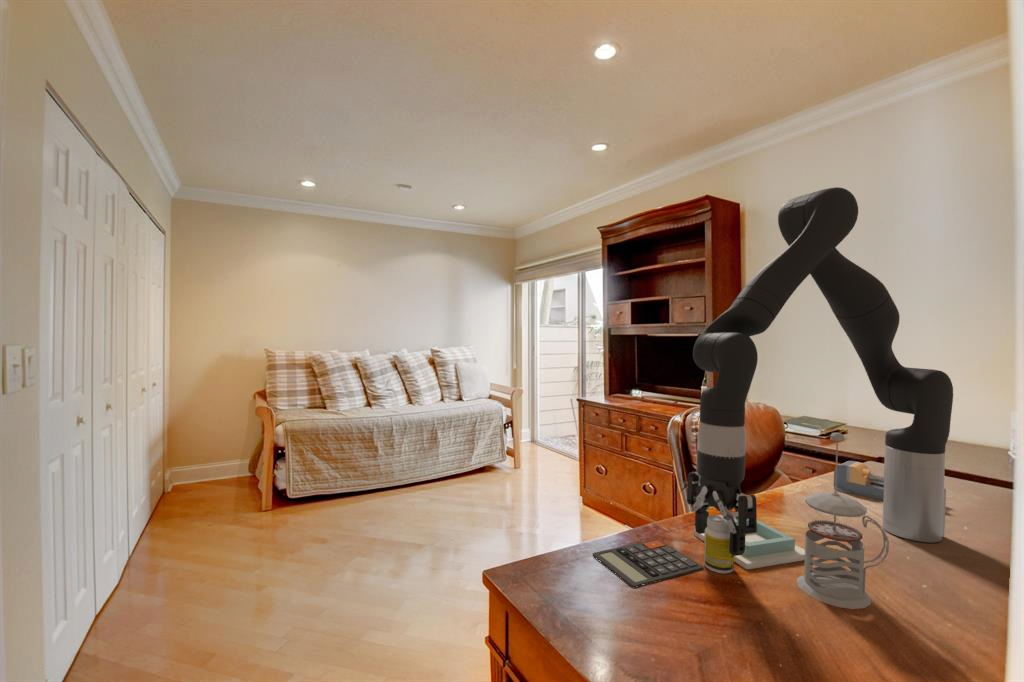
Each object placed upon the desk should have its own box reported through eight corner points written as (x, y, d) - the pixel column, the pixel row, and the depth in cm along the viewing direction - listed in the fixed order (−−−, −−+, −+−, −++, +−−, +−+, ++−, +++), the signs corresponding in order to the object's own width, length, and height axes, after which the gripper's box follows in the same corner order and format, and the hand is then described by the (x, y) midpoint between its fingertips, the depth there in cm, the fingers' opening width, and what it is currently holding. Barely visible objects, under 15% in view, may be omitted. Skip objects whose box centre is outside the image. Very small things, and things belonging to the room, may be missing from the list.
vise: (830, 490, 121) (831, 464, 121) (844, 482, 127) (845, 457, 127) (922, 512, 107) (923, 483, 107) (933, 502, 113) (934, 474, 113)
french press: (793, 568, 82) (797, 423, 81) (876, 585, 77) (881, 430, 76) (800, 598, 73) (804, 435, 72) (895, 619, 68) (901, 444, 67)
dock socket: (751, 526, 98) (751, 512, 98) (811, 558, 85) (811, 542, 85) (693, 534, 95) (693, 519, 94) (746, 569, 81) (747, 552, 81)
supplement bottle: (737, 576, 79) (738, 526, 79) (706, 572, 80) (707, 523, 80) (730, 561, 84) (731, 514, 84) (701, 559, 85) (702, 512, 84)
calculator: (704, 565, 81) (633, 584, 75) (704, 571, 81) (632, 590, 75) (657, 537, 92) (591, 552, 86) (657, 542, 92) (591, 557, 86)
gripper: (772, 459, 75) (768, 560, 76) (711, 438, 89) (708, 524, 90) (732, 462, 73) (729, 566, 74) (676, 440, 87) (674, 528, 87)
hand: (718, 542), depth 82 cm, fingers open, 8 cm apart
